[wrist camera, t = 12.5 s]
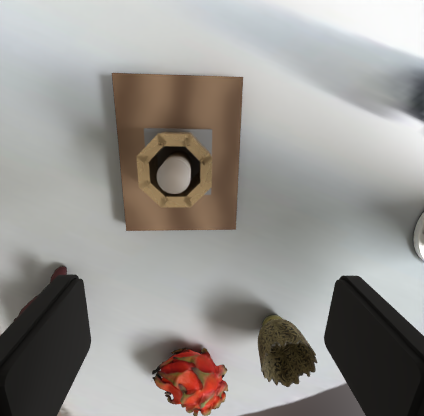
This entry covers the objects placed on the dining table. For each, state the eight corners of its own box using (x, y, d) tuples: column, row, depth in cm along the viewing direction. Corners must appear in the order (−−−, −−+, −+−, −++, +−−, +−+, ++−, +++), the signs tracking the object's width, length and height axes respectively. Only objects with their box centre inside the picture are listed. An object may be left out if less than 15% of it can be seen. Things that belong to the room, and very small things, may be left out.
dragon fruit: (227, 362, 45) (163, 339, 45) (243, 356, 39) (168, 329, 38) (215, 423, 40) (142, 398, 40) (231, 428, 33) (143, 398, 33)
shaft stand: (239, 80, 30) (272, 48, 18) (233, 223, 36) (254, 276, 23) (117, 76, 29) (60, 40, 17) (130, 224, 34) (94, 280, 22)
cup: (264, 347, 43) (279, 395, 35) (240, 319, 41) (251, 363, 33) (302, 325, 42) (327, 369, 34) (280, 294, 40) (301, 334, 32)
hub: (208, 132, 27) (212, 134, 22) (208, 192, 29) (211, 207, 23) (146, 131, 26) (134, 133, 21) (149, 192, 28) (140, 207, 23)
